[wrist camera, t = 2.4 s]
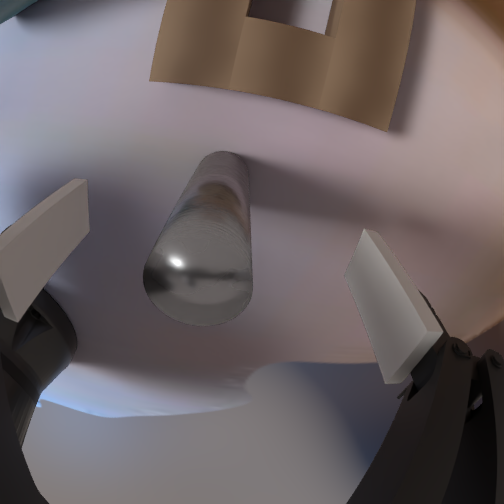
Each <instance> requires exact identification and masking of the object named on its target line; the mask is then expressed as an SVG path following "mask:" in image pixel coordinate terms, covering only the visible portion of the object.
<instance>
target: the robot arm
mask: <svg viewBox="0 0 504 504" xmlns="http://www.w3.org/2000/svg"><path fill="white" fill-rule="evenodd" d="M89 232H90V226H89V210H88V181H87V180H85V179H75V178H74V179H73V180H71V181H70V182H68V183H67V184H66V185H64V186H63V187H61V188H60V189H58V190H57V191H55V192H54V193H53V194H51V195H50V196H48V197H47V198H46V199H44V200H43V201H42V202H40V203H39V204H38V205H36V206H35V207H34V208H32V209H31V210H30V211H29V212H27V213H26V214H25V215H24V216H22V217H21V218H20V219H19V220H17V221H16V222H15V223H14V224H12V225H10V226H9V227H7V228H6V229H5V230H4V231H3V232H2V233H1V235H0V504H49V503H48V502H47V501H46V500H45V498H44V497H43V496H42V495H41V494H40V492H39V491H38V489H37V487H36V485H35V483H34V481H33V478H32V476H31V474H30V471H29V468H28V466H27V463H26V461H25V458H24V455H23V452H22V449H21V448H22V445H23V442H24V438H25V435H26V432H27V429H28V426H29V423H30V420H31V418H32V415H33V412H34V409H35V407H36V404H37V402H38V399H39V397H40V395H41V393H42V391H43V390H44V389H45V388H46V387H47V386H48V385H49V384H50V383H51V382H52V381H53V380H54V379H55V378H56V377H57V376H58V375H59V374H60V373H61V372H62V371H63V370H64V369H65V368H66V367H67V366H68V365H69V364H70V362H71V360H72V357H73V355H74V353H75V351H76V348H77V339H76V335H75V332H74V329H73V327H72V325H71V323H70V321H69V320H68V318H67V316H66V315H65V313H64V312H63V311H62V309H61V308H60V307H59V306H58V304H57V303H56V302H55V301H54V300H53V299H52V298H51V297H50V296H49V295H48V294H47V293H46V292H45V291H44V290H43V289H42V288H43V287H44V286H45V284H46V283H47V282H48V281H49V279H50V278H51V277H52V275H53V274H54V273H55V272H56V270H57V269H58V268H59V267H60V266H61V264H62V263H63V262H64V261H65V259H66V258H67V257H68V256H69V255H70V254H71V252H72V251H73V250H74V249H75V248H76V247H77V245H78V244H79V243H80V242H81V241H82V240H83V239H84V237H85V236H86V235H87V234H88V233H89ZM344 276H345V279H346V281H347V283H348V286H349V288H350V291H351V293H352V295H353V298H354V300H355V303H356V305H357V308H358V310H359V313H360V316H361V318H362V321H363V323H364V326H365V329H366V331H367V334H368V337H369V339H370V342H371V345H372V347H373V350H374V353H375V356H376V359H377V362H378V364H379V367H380V370H381V373H382V376H383V379H384V382H385V384H395V383H402V382H403V381H404V379H405V378H406V377H407V376H408V375H409V374H410V373H411V376H412V378H413V381H412V382H411V383H410V384H409V385H408V386H407V387H406V388H405V390H403V391H402V393H401V394H399V396H398V397H397V398H398V399H400V398H401V397H402V396H403V395H404V398H403V400H402V402H401V404H400V407H399V409H398V411H397V413H396V416H395V418H394V420H393V422H392V424H391V427H390V429H389V431H388V433H387V435H386V437H385V439H384V441H383V443H382V445H381V447H380V449H379V451H378V452H377V454H376V456H375V458H374V460H373V461H372V463H371V465H370V467H369V469H368V470H367V472H366V474H365V475H364V477H363V479H362V480H361V482H360V484H359V485H358V487H357V488H356V490H355V491H354V493H353V494H352V496H351V497H350V499H349V500H348V502H347V504H504V360H503V358H502V356H501V355H499V353H498V352H496V351H494V350H491V349H489V350H487V351H486V352H485V353H484V354H483V355H482V357H481V358H479V357H476V356H473V355H472V352H471V350H470V348H469V347H468V346H467V344H466V343H464V342H463V341H462V340H460V339H458V338H456V337H451V338H450V336H449V335H448V333H447V331H446V330H445V328H444V326H443V324H442V323H441V321H440V319H439V318H438V316H437V315H435V314H436V313H435V311H434V309H433V308H431V305H430V303H429V301H428V300H427V298H426V297H425V296H424V295H423V294H422V293H421V292H420V291H419V290H418V289H417V288H416V286H415V284H414V283H413V281H412V280H411V278H410V277H409V275H408V274H407V272H406V271H405V270H404V268H403V267H402V265H401V264H400V262H399V261H398V259H397V258H396V257H395V255H394V254H393V252H392V251H391V249H390V248H389V247H388V245H387V244H386V243H385V241H384V240H383V238H382V237H381V236H380V234H379V233H378V232H377V231H373V230H368V229H364V230H363V232H362V235H361V237H360V240H359V242H358V245H357V247H356V249H355V252H354V254H353V256H352V259H351V261H350V263H349V266H348V268H347V270H346V272H345V275H344ZM481 397H482V400H483V403H482V404H481V405H480V406H479V407H478V408H477V409H474V404H475V403H476V402H477V401H478V400H479V399H480V398H481Z"/></svg>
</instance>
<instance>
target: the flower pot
mask: <svg viewBox="0 0 504 504" xmlns="http://www.w3.org/2000/svg"><path fill="white" fill-rule="evenodd" d="M36 1H38V0H0V24H1V23H3V22H5V21H7V20H8V19H10V18H12V17H14V16H15V15H16V14H18V13H19V12H21V11H22V10H24V9H25V8H27V7H28V6H30V5H31V4H33V3H35V2H36Z"/></svg>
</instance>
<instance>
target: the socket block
mask: <svg viewBox="0 0 504 504" xmlns="http://www.w3.org/2000/svg"><path fill="white" fill-rule="evenodd" d="M251 4H252V0H167V3H166V6H165V10H164V14H163V18H162V22H161V26H160V30H159V34H158V39H157V43H156V48H155V53H154V58H153V63H152V68H151V74H150V80H149V81H154V82H170V83H181V84H191V85H200V86H208V87H216V88H222V89H229V90H235V91H241V92H247V93H252V94H257V95H262V96H267V97H272V98H276V99H281V100H285V101H289V102H293V103H297V104H301V105H305V106H309V107H312V108H316V109H319V110H323V111H326V112H330V113H333V114H336V115H339V116H343V117H346V118H349V119H352V120H355V121H358V122H361V123H364V124H366V125H369V126H372V127H375V128H377V129H380V130H383V131H385V132H387V130H388V127H389V124H390V120H391V116H392V113H393V109H394V105H395V102H396V98H397V94H398V90H399V86H400V82H401V78H402V73H403V69H404V65H405V60H406V55H407V51H408V46H409V41H410V35H411V30H412V24H413V18H414V12H415V6H416V0H333V1H332V6H331V10H330V14H329V19H328V23H327V27H326V32H325V35H323V34H320V33H316V32H313V31H309V30H306V29H302V28H298V27H294V26H290V25H286V24H282V23H278V22H273V21H268V20H263V19H258V18H252V17H248V16H249V12H250V8H251Z"/></svg>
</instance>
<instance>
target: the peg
mask: <svg viewBox="0 0 504 504" xmlns="http://www.w3.org/2000/svg"><path fill="white" fill-rule="evenodd" d="M143 283H144V287H145V290H146V293H147V295H148V297H149V298H150V300H151V301H152V303H153V304H154V305H155V306H156V307H157V308H158V309H159V310H160V311H161V312H163V313H164V314H165V315H167V316H168V317H170V318H172V319H174V320H176V321H179V322H182V323H185V324H189V325H194V326H213V325H218V324H222V323H225V322H227V321H230V320H232V319H233V318H235V317H236V316H238V315H239V314H240V313H241V312H242V311H243V310H244V309H245V308H246V307H247V305H248V303H249V301H250V299H251V296H252V291H253V278H252V252H251V225H250V198H249V174H248V169H247V166H246V164H245V163H244V161H243V160H242V159H241V158H240V157H239V156H237V155H235V154H234V153H231V152H227V151H218V152H214V153H211V154H209V155H208V156H206V157H205V158H204V159H203V160H202V161H201V162H200V164H199V166H198V167H197V169H196V171H195V172H194V174H193V176H192V177H191V179H190V181H189V183H188V184H187V186H186V188H185V190H184V191H183V193H182V195H181V197H180V199H179V200H178V202H177V204H176V206H175V208H174V209H173V211H172V213H171V215H170V217H169V219H168V221H167V223H166V224H165V226H164V228H163V230H162V232H161V234H160V236H159V238H158V240H157V242H156V244H155V246H154V248H153V250H152V252H151V254H150V256H149V258H148V260H147V262H146V264H145V267H144V271H143Z"/></svg>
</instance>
